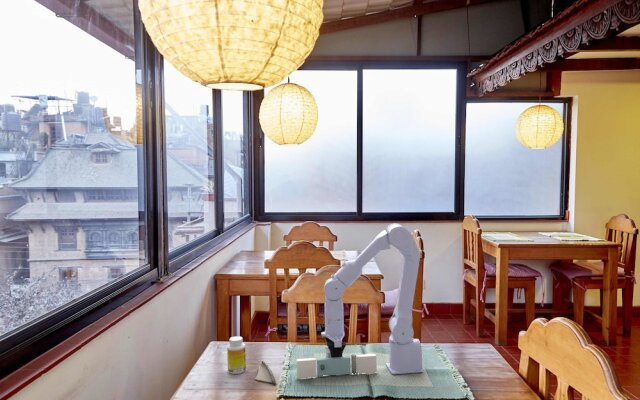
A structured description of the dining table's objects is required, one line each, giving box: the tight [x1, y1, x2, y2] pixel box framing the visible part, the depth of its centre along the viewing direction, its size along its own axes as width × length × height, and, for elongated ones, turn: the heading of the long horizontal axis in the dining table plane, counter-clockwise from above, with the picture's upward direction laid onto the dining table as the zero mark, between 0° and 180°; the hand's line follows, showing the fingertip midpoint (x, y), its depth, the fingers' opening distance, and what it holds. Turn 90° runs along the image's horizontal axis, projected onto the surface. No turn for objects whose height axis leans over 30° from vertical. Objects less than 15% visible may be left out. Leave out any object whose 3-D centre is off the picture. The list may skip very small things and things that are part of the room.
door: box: [316, 355, 352, 377], centre depth 139 cm, size 10×2×5 cm, turn 97°
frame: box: [296, 353, 378, 380], centre depth 139 cm, size 24×2×6 cm, turn 97°
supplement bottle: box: [226, 335, 247, 375], centre depth 144 cm, size 6×6×10 cm
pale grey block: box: [325, 347, 344, 358], centre depth 143 cm, size 4×4×6 cm
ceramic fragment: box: [254, 360, 278, 386], centre depth 140 cm, size 14×5×4 cm, turn 21°
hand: (335, 361), depth 144 cm, fingers closed on pale grey block, 4 cm apart
